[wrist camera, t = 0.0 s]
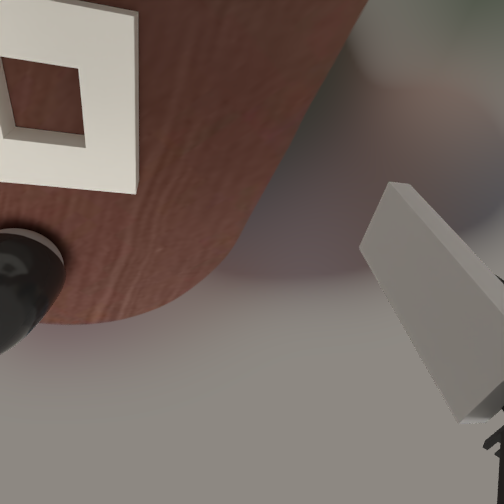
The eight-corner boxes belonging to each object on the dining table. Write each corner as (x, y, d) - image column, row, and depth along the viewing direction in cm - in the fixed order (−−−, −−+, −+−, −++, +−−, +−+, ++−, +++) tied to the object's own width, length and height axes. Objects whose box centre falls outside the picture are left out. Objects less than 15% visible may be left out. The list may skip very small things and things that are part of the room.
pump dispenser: (-21, 271, 46) (-95, 380, 34) (-21, 203, 40) (-108, 306, 28) (67, 288, 49) (28, 392, 38) (79, 228, 44) (38, 328, 32)
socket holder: (-82, -31, 28) (-107, -30, 26) (138, 11, 31) (133, 16, 29) (-25, 164, 37) (-39, 177, 35) (139, 180, 41) (135, 194, 39)
